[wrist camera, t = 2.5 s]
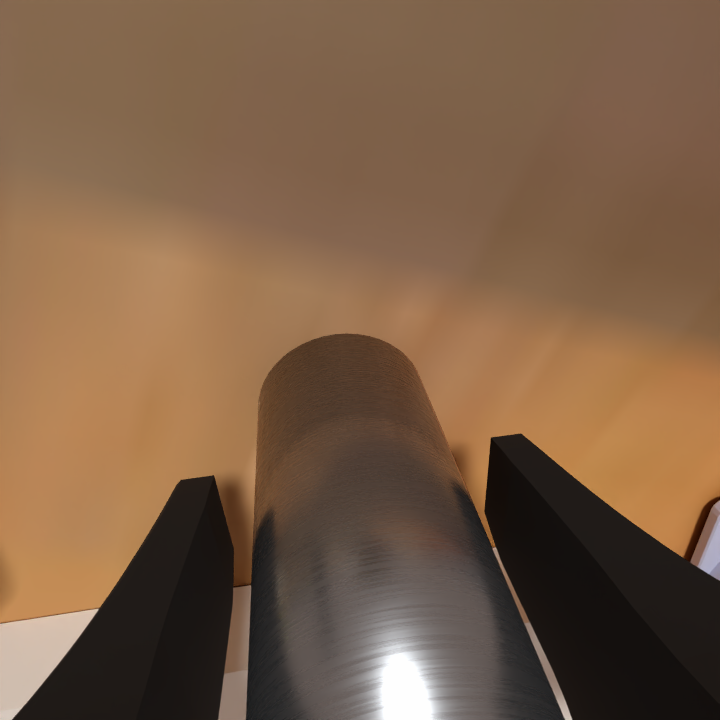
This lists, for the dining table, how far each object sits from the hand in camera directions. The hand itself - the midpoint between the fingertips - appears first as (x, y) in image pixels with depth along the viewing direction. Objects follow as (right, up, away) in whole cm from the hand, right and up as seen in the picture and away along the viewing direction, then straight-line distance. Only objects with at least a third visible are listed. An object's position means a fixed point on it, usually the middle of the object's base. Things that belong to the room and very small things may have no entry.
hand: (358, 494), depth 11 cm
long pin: (0, +1, +2) cm, 3 cm away
